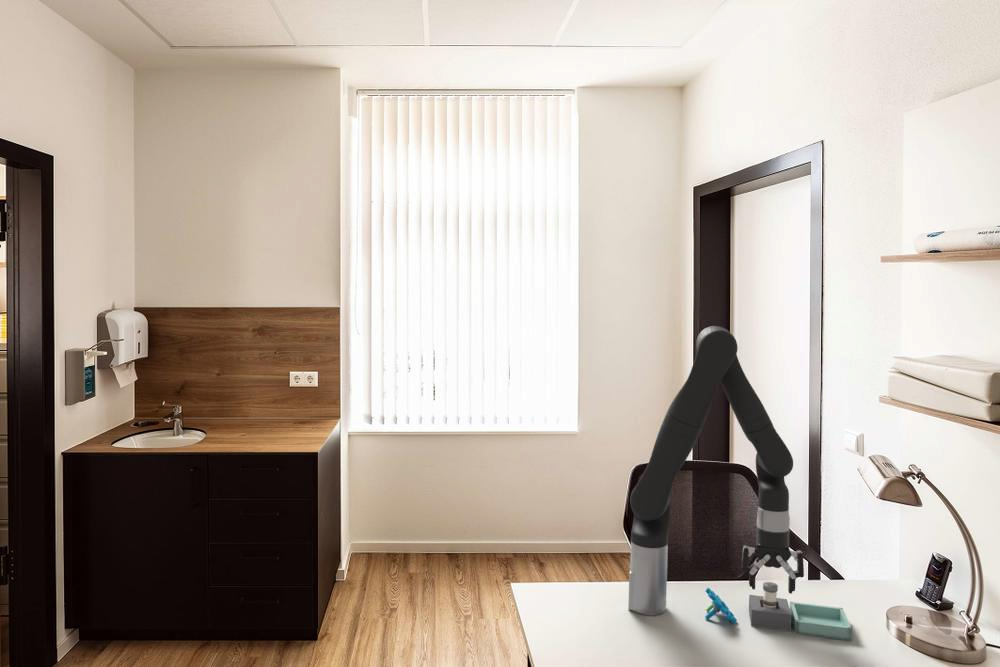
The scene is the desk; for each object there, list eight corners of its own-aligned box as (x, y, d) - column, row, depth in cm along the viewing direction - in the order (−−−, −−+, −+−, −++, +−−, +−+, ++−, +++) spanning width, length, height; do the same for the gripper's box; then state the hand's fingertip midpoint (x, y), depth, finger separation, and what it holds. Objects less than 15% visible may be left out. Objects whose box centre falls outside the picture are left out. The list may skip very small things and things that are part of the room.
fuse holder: (751, 625, 174) (751, 609, 173) (748, 609, 182) (749, 594, 182) (790, 630, 171) (791, 614, 171) (786, 614, 180) (786, 599, 180)
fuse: (762, 622, 176) (763, 586, 175) (761, 616, 179) (762, 581, 178) (777, 624, 175) (778, 588, 174) (775, 618, 178) (776, 582, 177)
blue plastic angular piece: (741, 625, 170) (711, 592, 172) (723, 641, 171) (693, 608, 173) (735, 611, 181) (707, 580, 183) (718, 626, 182) (690, 595, 184)
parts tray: (795, 633, 170) (795, 621, 170) (789, 613, 181) (790, 601, 180) (851, 641, 167) (851, 628, 166) (842, 619, 177) (842, 608, 177)
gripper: (743, 528, 173) (742, 593, 174) (806, 533, 169) (804, 600, 170) (741, 518, 180) (740, 581, 181) (802, 523, 177) (800, 587, 177)
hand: (771, 590), depth 176 cm, fingers open, 8 cm apart
